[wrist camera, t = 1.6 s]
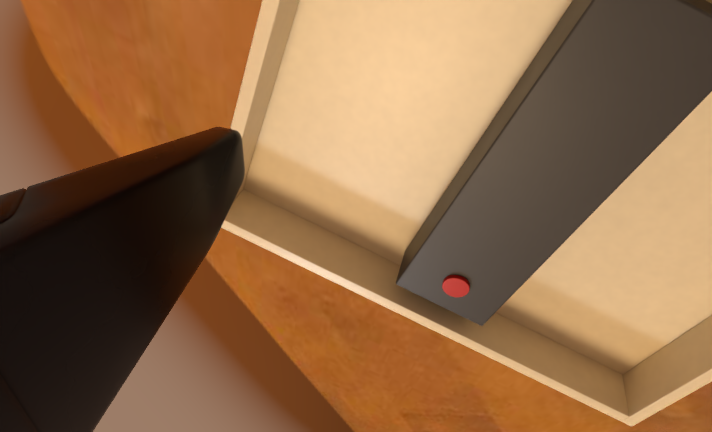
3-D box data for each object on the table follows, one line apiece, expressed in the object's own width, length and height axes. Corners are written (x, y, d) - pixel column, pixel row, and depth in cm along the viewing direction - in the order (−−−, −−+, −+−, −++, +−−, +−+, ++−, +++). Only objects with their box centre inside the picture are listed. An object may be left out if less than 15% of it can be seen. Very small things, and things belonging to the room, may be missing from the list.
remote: (606, -52, 16) (617, -34, 14) (735, 15, 16) (764, 43, 14) (404, 251, 25) (393, 287, 23) (485, 291, 26) (481, 330, 24)
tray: (1035, 98, 16) (1125, 148, 13) (623, 374, 27) (631, 427, 25) (361, -259, 15) (329, -273, 12) (235, 185, 27) (206, 221, 24)
